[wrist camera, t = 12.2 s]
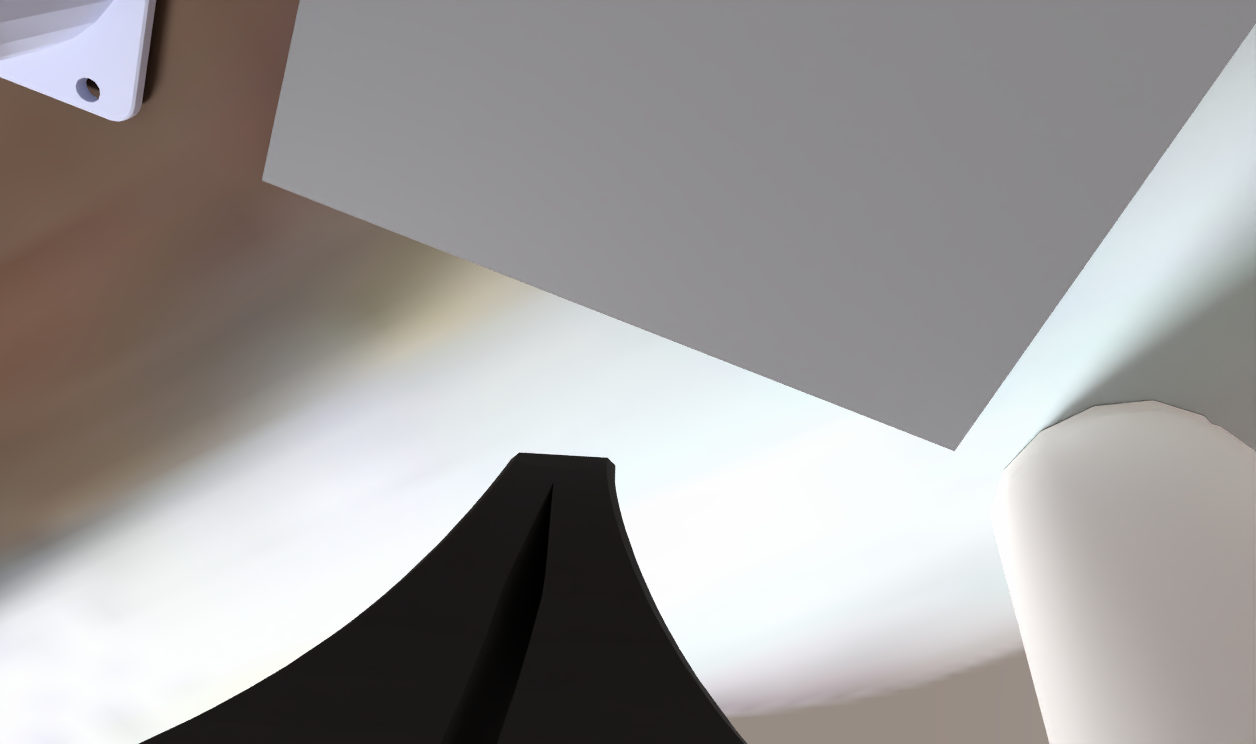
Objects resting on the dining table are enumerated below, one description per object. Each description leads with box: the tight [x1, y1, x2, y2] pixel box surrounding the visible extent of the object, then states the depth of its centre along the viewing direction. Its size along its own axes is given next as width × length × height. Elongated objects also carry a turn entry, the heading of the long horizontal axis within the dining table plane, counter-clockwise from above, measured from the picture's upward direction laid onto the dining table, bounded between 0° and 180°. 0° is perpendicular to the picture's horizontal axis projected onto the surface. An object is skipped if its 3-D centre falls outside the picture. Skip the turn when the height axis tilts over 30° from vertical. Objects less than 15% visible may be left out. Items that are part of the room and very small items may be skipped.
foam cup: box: [990, 400, 1256, 744], centre depth 19 cm, size 10×9×13 cm
